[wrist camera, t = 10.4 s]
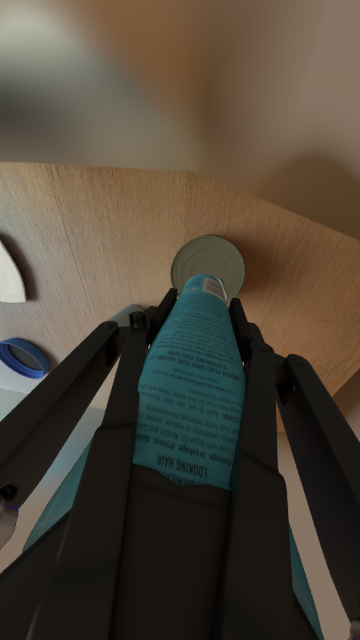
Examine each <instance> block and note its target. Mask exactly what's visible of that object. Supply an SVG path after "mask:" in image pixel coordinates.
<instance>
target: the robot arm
mask: <svg viewBox="0 0 360 640" xmlns="http://www.w3.org/2000/svg"><path fill="white" fill-rule="evenodd" d="M177 291H178V289H175V288H170V290H169V291H168V293H167V294H166V296H165V297H164V299H163V300H162V302H161V303H160V305H159V306H158V307H154V306H151V307H149V308H147V309H146V311H145V312H143V311H135V312H132V313H130V314H129V326H119V325H118V323H117V322H115V321H106V322H103V323H101V324H100V325H99V326H98V327H97V328H96V329H95V330H94V331H93V332H92V333H91V334H90V335H89V336H88V337H87V338H86V339H85V340H83V341H82V342H81V343H80V344H79V345H78V346H77V347H76V348H75V349H74V350H73V351H72V352H71V353H70V354H69V355H68V356H67V357H66V358H65V359H64V360H63V361H62V362H61V363H60V364H59V365H58V366H57V367H56V368H55V369H54V370H53V371H52V372H51V373H50V374H49V375H48V376H47V377H46V378H45V379H44V380H43V381H42V382H41V383H39V384H38V385H37V386H36V387H35V388H34V389H33V390H32V391H31V392H30V393H29V394H28V395H27V396H26V397H25V398H24V399H23V400H22V401H21V402H20V403H19V404H18V405H17V406H16V407H15V408H14V409H13V410H12V411H11V412H10V413H9V414H8V415H7V416H6V417H5V418H4V419H3V420H2V421H1V422H0V550H1V548H2V547H3V546H4V545H5V544H6V543H7V542H8V541H9V540H10V538H11V536H12V534H13V533H14V531H15V526H16V522H17V518H18V509H19V508H20V507H21V505H22V504H23V503H24V502H25V501H26V499H27V498H28V497H29V495H30V494H31V493H32V492H33V490H34V489H35V488H36V486H37V485H38V484H39V482H40V481H41V479H42V478H43V476H44V475H45V473H46V472H47V470H48V469H49V467H50V466H51V465H52V463H53V461H54V460H55V458H56V457H57V455H58V453H59V451H60V450H61V449H62V447H63V445H64V444H65V442H66V441H67V439H68V438H69V436H70V434H71V433H72V431H73V430H74V428H75V426H76V425H77V423H78V422H79V420H80V419H81V417H82V415H83V414H84V412H85V411H86V409H87V407H88V406H89V404H90V403H91V401H92V399H93V398H94V396H95V395H96V393H97V392H98V390H99V388H100V387H101V385H102V384H103V382H104V380H105V379H106V377H107V376H108V374H109V373H110V371H111V369H112V368H113V366H114V365H115V363H116V361H117V360H118V358H119V357H120V355H121V357H120V361H119V364H118V368H117V371H116V375H115V378H114V382H113V386H112V389H111V393H110V396H109V400H108V404H107V407H106V411H105V415H104V418H103V421H102V424H101V426H100V427H99V428H97V430H96V431H95V433H94V436H93V439H92V442H91V445H90V449H89V452H88V455H87V459H86V462H85V465H84V468H83V472H82V475H81V478H80V482H79V485H78V488H77V492H76V495H75V498H74V501H73V505H72V508H71V509H70V510H69V511H68V512H67V513H65V514H64V515H63V516H62V517H61V518H60V519H59V520H58V521H57V522H56V523H55V524H54V525H52V526H51V527H50V528H49V529H48V530H47V531H46V532H45V533H44V534H43V535H42V536H41V537H40V538H38V539H37V540H36V541H35V542H34V543H33V544H32V545H31V546H30V547H29V548H28V549H26V550H25V551H24V552H23V553H22V554H21V555H20V556H19V557H18V558H17V559H16V560H15V561H13V562H12V563H11V564H10V565H9V566H8V567H7V568H6V569H5V570H4V571H3V572H2V573H1V574H0V640H320V639H319V637H318V635H317V634H316V632H315V630H314V628H313V626H312V624H311V622H310V621H309V619H308V617H307V615H306V613H305V611H304V609H303V607H302V606H301V604H300V602H299V600H298V598H297V596H296V594H295V593H294V591H293V583H292V567H291V551H290V535H289V519H288V502H287V490H286V483H285V480H284V478H283V476H282V475H281V474H280V473H279V471H278V458H277V425H276V401H277V405H278V408H279V411H280V415H281V418H282V421H283V424H284V428H285V431H286V434H287V437H288V440H289V444H290V447H291V450H292V453H293V457H294V460H295V464H296V467H297V470H298V473H299V476H300V480H301V483H302V486H303V490H304V493H305V496H306V499H307V503H308V506H309V509H310V513H311V516H312V519H313V522H314V526H315V529H316V532H317V535H318V539H319V542H320V545H321V548H322V551H323V554H324V557H325V560H326V563H327V566H328V569H329V572H330V575H331V578H332V580H333V582H334V585H335V588H336V590H337V593H338V595H339V598H340V600H341V603H342V605H343V608H344V610H345V612H346V614H347V617H348V619H349V621H350V623H351V627H350V638H349V639H348V640H360V442H359V441H358V439H357V437H356V436H355V434H354V432H353V431H352V429H351V428H350V426H349V425H348V423H347V421H346V420H345V418H344V417H343V415H342V413H341V412H340V410H339V409H338V407H337V406H336V404H335V402H334V401H333V399H332V398H331V396H330V394H329V393H328V391H327V390H326V388H325V387H324V385H323V383H322V382H321V380H320V379H319V377H318V375H317V374H316V372H315V371H314V369H313V368H312V366H311V364H310V363H309V362H308V361H307V360H306V359H304V358H303V357H301V356H299V355H295V354H289V355H288V356H287V358H285V357H283V356H280V355H277V354H275V353H274V350H273V348H272V347H271V346H269V345H268V344H266V343H265V341H264V339H263V337H262V335H261V332H260V330H259V328H258V326H257V325H256V324H255V323H249V322H247V319H246V316H245V313H244V310H243V307H242V304H241V302H240V299H238V298H232V299H231V302H230V306H229V309H228V311H229V315H230V318H231V322H232V326H233V330H234V334H235V338H236V342H237V345H238V349H239V353H240V356H241V360H242V362H243V361H244V371H245V375H246V388H245V397H244V404H243V410H242V416H241V422H240V427H239V432H238V438H237V443H236V449H235V454H234V459H233V464H232V470H231V475H230V480H229V485H228V486H229V487H230V488H232V491H230V490H227V489H223V488H220V487H216V486H213V485H209V484H199V485H189V486H178V485H176V484H175V483H174V482H172V481H171V480H169V479H168V478H167V477H165V476H164V475H162V474H161V473H159V472H158V471H157V470H155V469H152V468H148V467H145V466H141V465H138V464H134V463H133V457H134V454H135V443H136V431H137V420H138V410H139V399H140V394H139V392H138V385H139V379H140V377H141V374H142V372H143V364H144V358H145V355H146V353H147V351H148V346H149V344H150V346H151V345H152V343H153V341H154V340H155V338H156V336H157V334H158V333H159V331H160V329H161V328H162V326H163V324H164V322H165V321H166V319H167V317H168V315H169V314H170V312H171V310H172V308H173V306H174V305H175V303H176V301H177Z"/></svg>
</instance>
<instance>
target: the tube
mask: <svg viewBox="0 0 360 640" xmlns="http://www.w3.org/2000/svg"><path fill="white" fill-rule="evenodd" d="M245 388H246V375H245V371H244V367H243V364H242V360H241V356H240V353H239V349H238V345H237V342H236V338H235V334H234V330H233V326H232V322H231V318H230V315H229V311H228V307H227V303H226V298H225V294H224V291H223V287H222V285H221V283H220V281H219V280H218V279H217V278H215V277H214V276H212V275H209V274H198V275H195V276H193V277H192V278H190V279H189V280H188V281H187V283H186V284H185V286H184V288H183V290H182V292H181V294H180V295H179V297H178V299H177V301H176V303H175V305H174V306H173V308H172V310H171V312H170V314H169V315H168V317H167V319H166V321H165V322H164V324H163V326H162V328H161V329H160V331H159V333H158V334H157V336H156V338H155V340H154V341H153V343H152V345H151V346H150V348H149V350H148V351H147V353H146V355H145V358H144V364H143V372H142V374H141V377H140V379H139V385H138V392H139V394H140V399H139V410H138V420H137V431H136V443H135V454H134V457H133V463H134V464H138V465H141V466H145V467H148V468H152V469H155V470H157V471H158V472H159V473H161V474H162V475H164V476H165V477H167V478H168V479H169V480H171V481H172V482H174V483H175V484H176V485H178V486H189V485H199V484H209V485H213V486H216V487H220V488H223V489H227V490H230V491H232V488H230V487H229V486H228V485H229V480H230V475H231V470H232V464H233V459H234V454H235V449H236V443H237V438H238V432H239V427H240V422H241V416H242V410H243V404H244V397H245ZM92 439H93V438H92ZM92 439H91V441H90V443H89V444H88V446H87V447H86V449H85V450H84V452H83V453H82V454H81V456H80V457H79V459H78V461H77V462H76V463H75V465H74V466H73V468H72V469H71V471H70V472H69V473H68V475H67V476H66V478H65V479H64V480H63V482H62V483H61V485H60V486H59V488H58V489H57V491H56V492H55V494H54V495H53V497H52V498H51V500H50V501H49V503H48V504H47V506H46V507H45V509H44V511H43V512H42V514H41V516H40V518H39V519H38V521H37V523H36V524H35V526H34V528H33V530H32V531H31V533H30V535H29V537H28V539H27V541H26V543H25V545H24V547H23V551H22V553H23V552H24V551H25V550H26V549H28V548H29V547H30V546H31V545H32V544H33V543H34V542H35V541H36V540H37V539H38V538H40V537H41V536H42V535H43V534H44V533H45V532H46V531H47V530H48V529H49V528H50V527H51V526H52V525H54V524H55V523H56V522H57V521H58V520H59V519H60V518H61V517H62V516H63V515H64V514H65V513H67V512H68V511H69V510H70V509H71V508H72V505H73V501H74V498H75V495H76V492H77V488H78V485H79V482H80V478H81V475H82V472H83V468H84V465H85V462H86V459H87V455H88V452H89V449H90V445H91V442H92ZM289 535H290V551H291V567H292V583H293V591H294V593H295V594H296V596H297V598H298V600H299V602H300V604H301V606H302V607H303V609H304V611H305V613H306V615H307V617H308V619H309V621H310V622H311V624H312V626H313V628H314V630H315V632H316V634H317V635H318V637H319V639H320V640H324V637H323V634H322V631H321V627H320V623H319V619H318V614H317V611H316V607H315V604H314V600H313V597H312V594H311V590H310V587H309V584H308V581H307V578H306V575H305V571H304V568H303V565H302V562H301V559H300V555H299V552H298V549H297V546H296V543H295V540H294V537H293V534H292V530H291V527H290V524H289Z"/></svg>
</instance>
